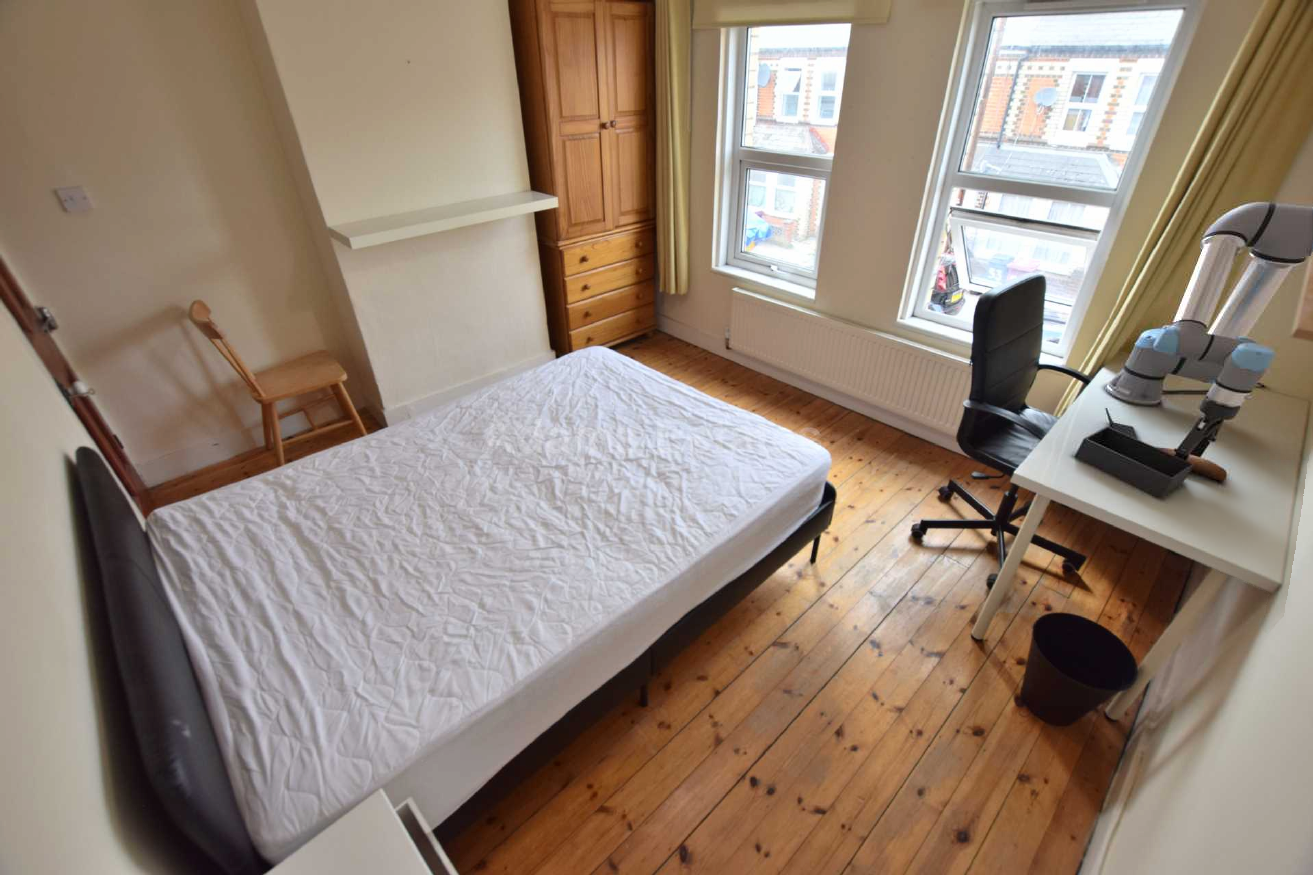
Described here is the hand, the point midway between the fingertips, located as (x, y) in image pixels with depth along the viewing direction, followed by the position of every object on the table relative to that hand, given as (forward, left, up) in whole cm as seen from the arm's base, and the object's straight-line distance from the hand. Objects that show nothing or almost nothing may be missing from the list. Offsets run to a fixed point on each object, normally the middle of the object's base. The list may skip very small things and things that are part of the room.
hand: (1181, 465), depth 165 cm
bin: (+16, -7, 0) cm, 18 cm away
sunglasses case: (0, 0, 0) cm, 0 cm away
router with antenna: (-2, -18, 0) cm, 18 cm away
